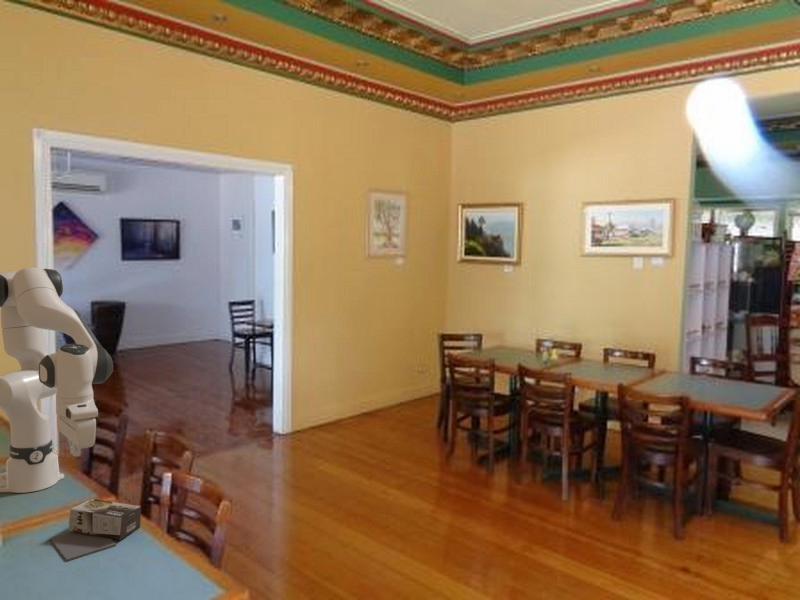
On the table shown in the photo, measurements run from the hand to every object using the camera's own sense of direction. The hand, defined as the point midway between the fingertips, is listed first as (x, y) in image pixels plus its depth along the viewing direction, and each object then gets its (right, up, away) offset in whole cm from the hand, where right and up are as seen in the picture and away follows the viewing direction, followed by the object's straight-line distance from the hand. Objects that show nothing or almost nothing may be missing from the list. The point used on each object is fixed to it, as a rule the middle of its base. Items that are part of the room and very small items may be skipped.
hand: (75, 454), depth 162 cm
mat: (+3, -23, -1) cm, 24 cm away
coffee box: (-2, -19, +7) cm, 20 cm away
